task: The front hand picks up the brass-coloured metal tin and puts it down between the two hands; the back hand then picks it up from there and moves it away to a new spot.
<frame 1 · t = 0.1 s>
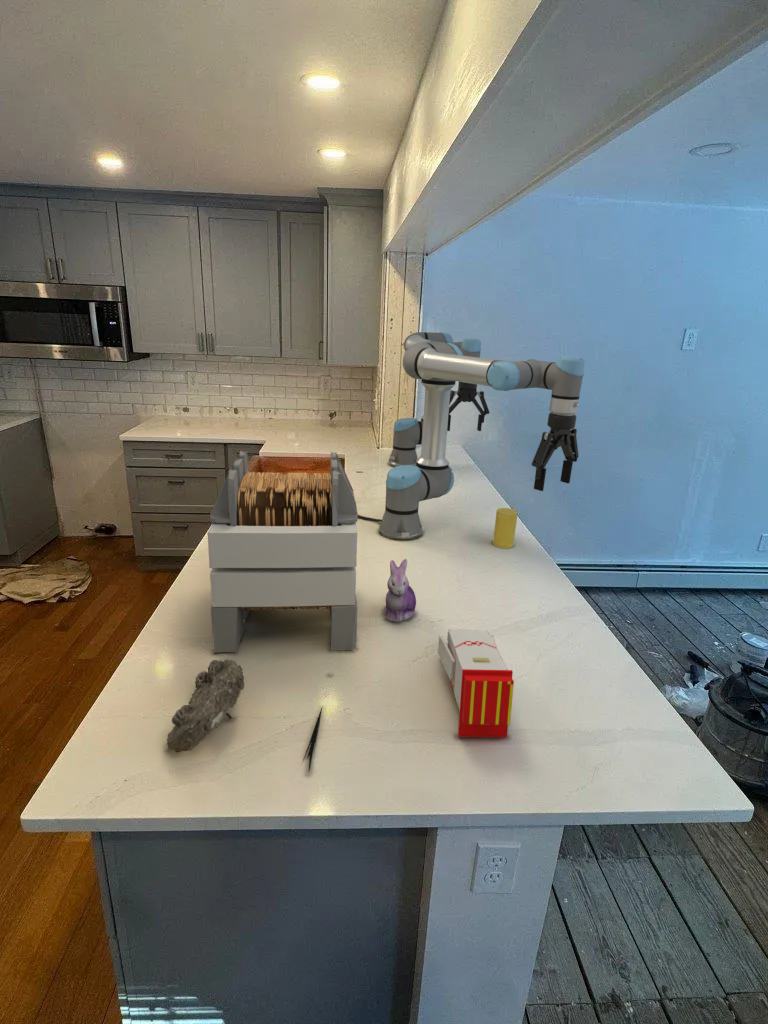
front hand: (551, 486, 166), 28 cm above the counter, tool pointing down, fingers open, 13 cm apart
back hand: (463, 430, 237), 28 cm above the counter, tool pointing down, fingers open, 13 cm apart
figurine: (399, 614, 147), on the counter
grey record crate: (288, 615, 144), on the counter
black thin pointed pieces: (319, 719, 109), on the counter
toy: (469, 691, 119), on the counter
tin: (503, 544, 195), on the counter
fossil: (212, 717, 108), on the counter
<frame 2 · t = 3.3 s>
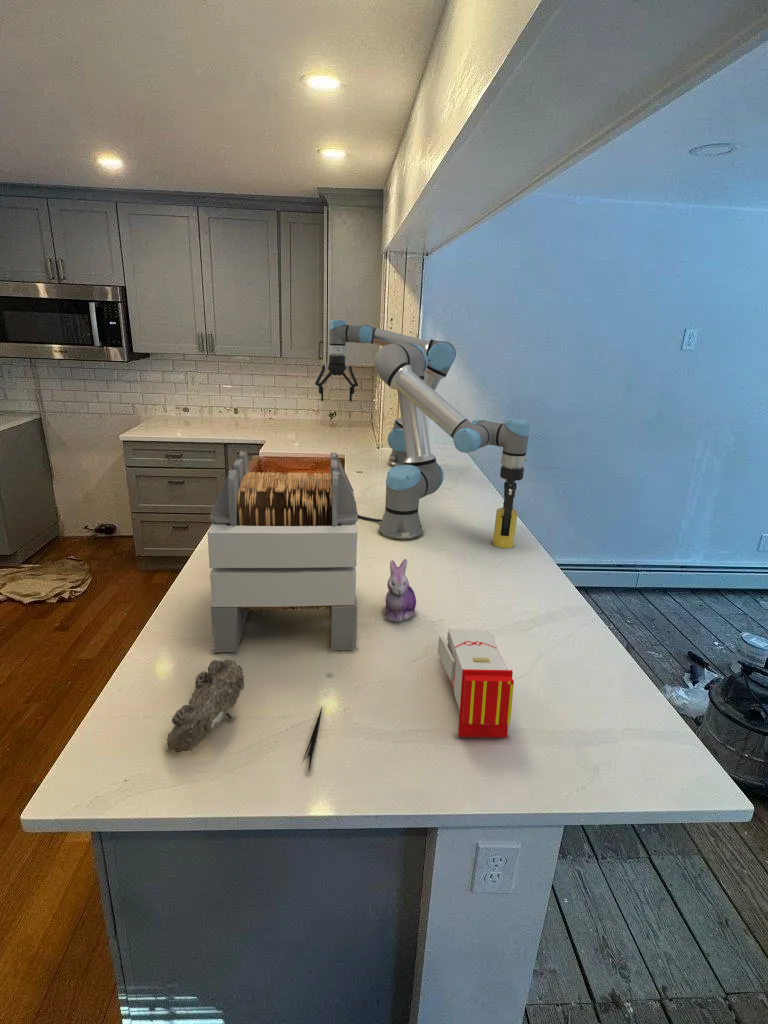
front hand: (504, 531, 194), 5 cm above the counter, tool pointing down, fingers closed on tin, 7 cm apart
back hand: (336, 400, 270), 32 cm above the counter, tool pointing down, fingers open, 13 cm apart
tin: (503, 544, 195), on the counter, touching front hand
everything else where it was.
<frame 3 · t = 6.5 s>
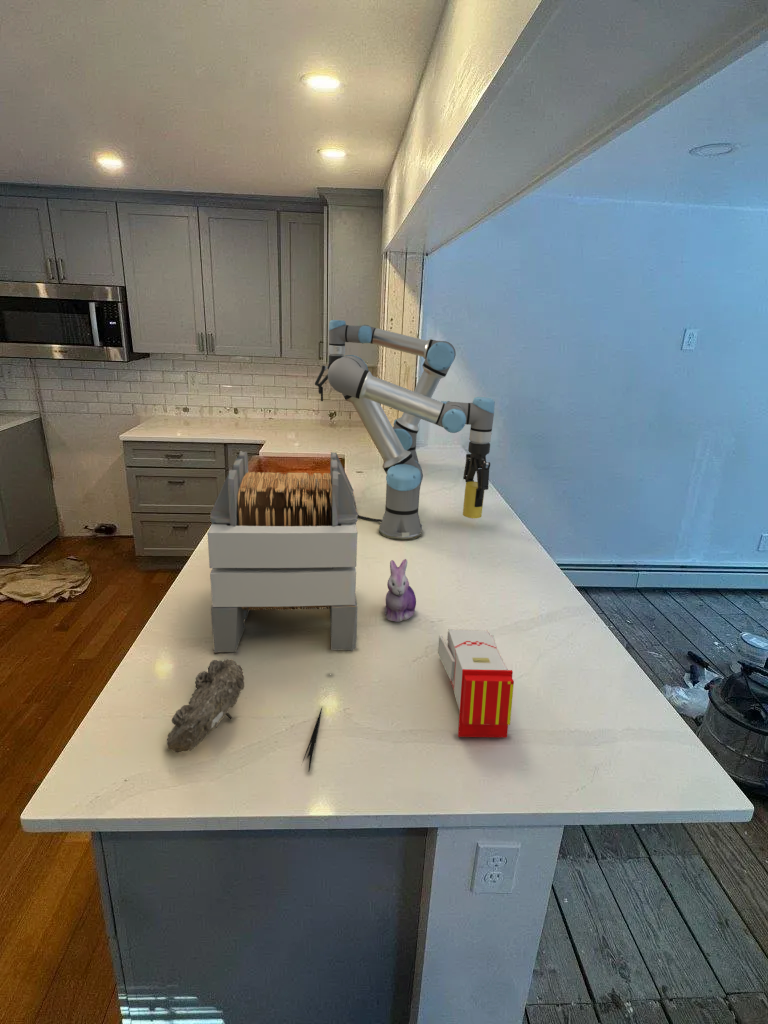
front hand: (473, 503, 209), 9 cm above the counter, tool pointing down, fingers closed on tin, 7 cm apart
back hand: (336, 401, 271), 32 cm above the counter, tool pointing down, fingers open, 13 cm apart
tin: (472, 515, 210), point 4 cm above the counter, touching front hand
everything else where it was.
when the front hand's fingers open (6 cm above the counter, at t = 10.0 s): tin drops 1 cm, on the counter.
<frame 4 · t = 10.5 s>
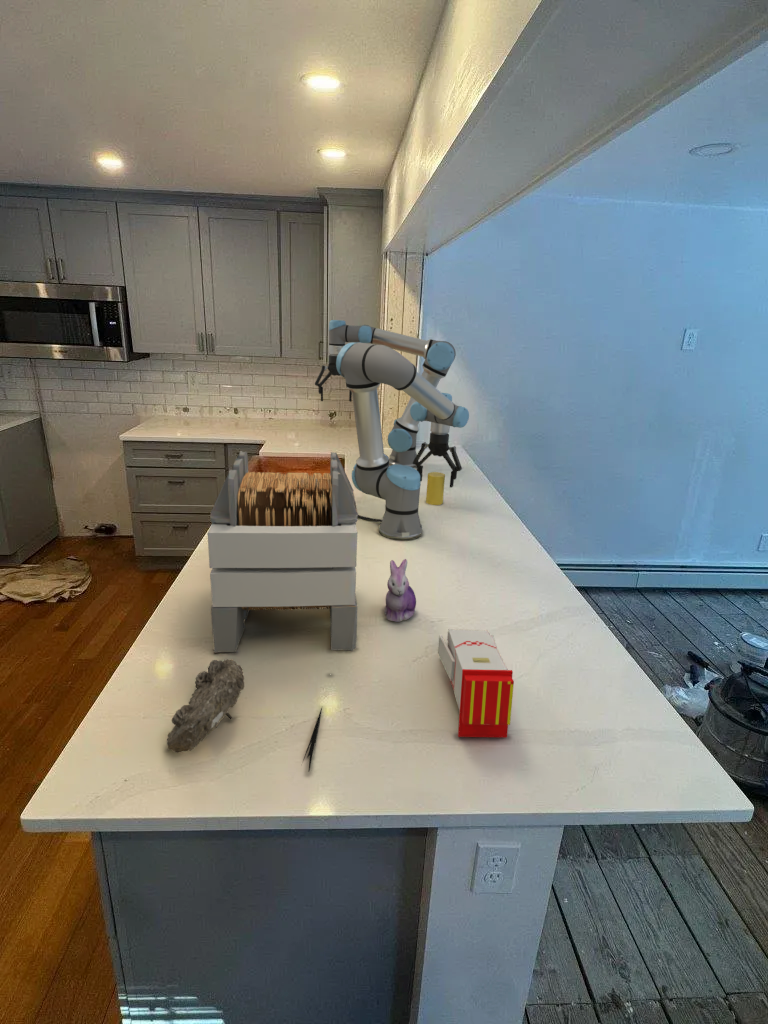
front hand: (435, 484, 232), 8 cm above the counter, tool pointing down, fingers open, 13 cm apart
back hand: (336, 401, 271), 32 cm above the counter, tool pointing down, fingers open, 13 cm apart
tin: (434, 502, 234), on the counter
everything else where it was.
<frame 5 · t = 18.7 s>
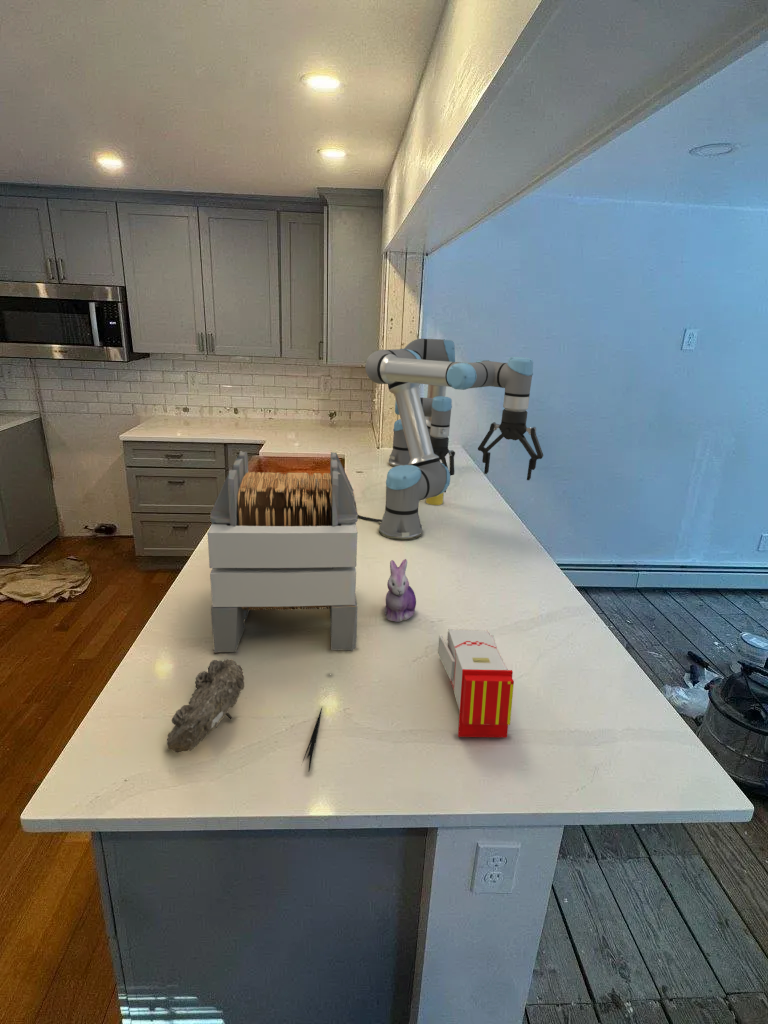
front hand: (507, 476, 181), 26 cm above the counter, tool pointing down, fingers open, 13 cm apart
back hand: (435, 491, 233), 5 cm above the counter, tool pointing down, fingers closed on tin, 7 cm apart
tin: (434, 502, 234), on the counter, touching back hand
everything else where it was.
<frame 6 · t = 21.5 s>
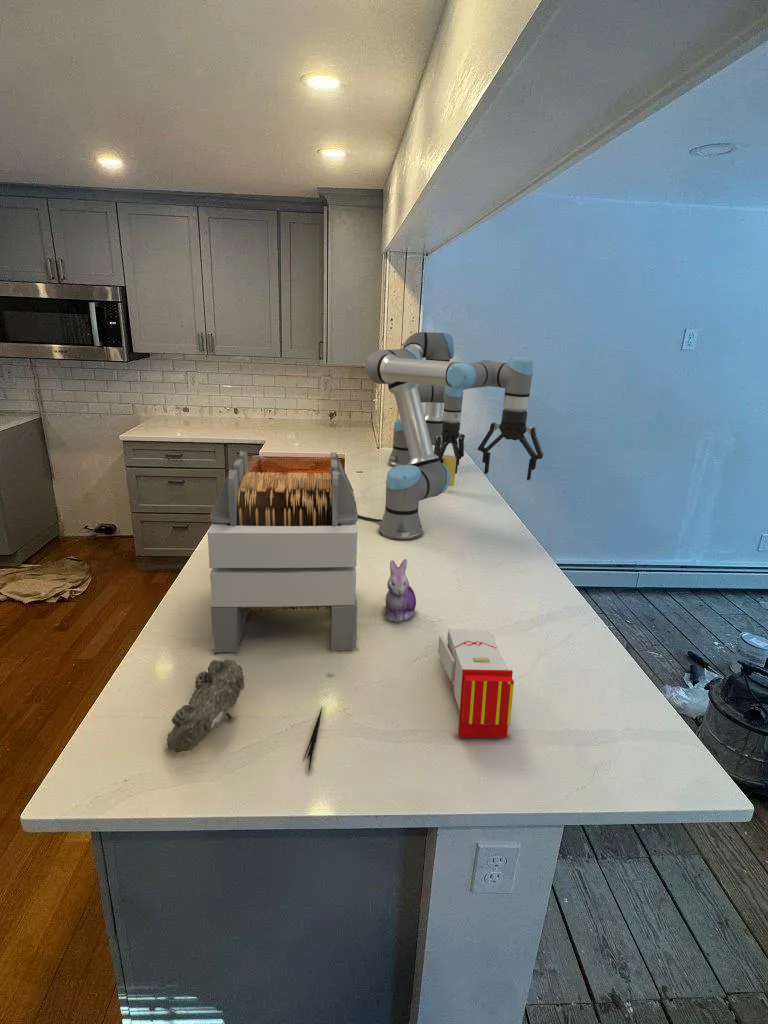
front hand: (507, 476, 181), 26 cm above the counter, tool pointing down, fingers open, 13 cm apart
back hand: (447, 473, 246), 8 cm above the counter, tool pointing down, fingers closed on tin, 7 cm apart
tin: (446, 484, 248), point 3 cm above the counter, touching back hand
everything else where it was.
when the back hand's fingers open (6 cm above the counter, at t = 24.5 s): tin drops 1 cm, on the counter.
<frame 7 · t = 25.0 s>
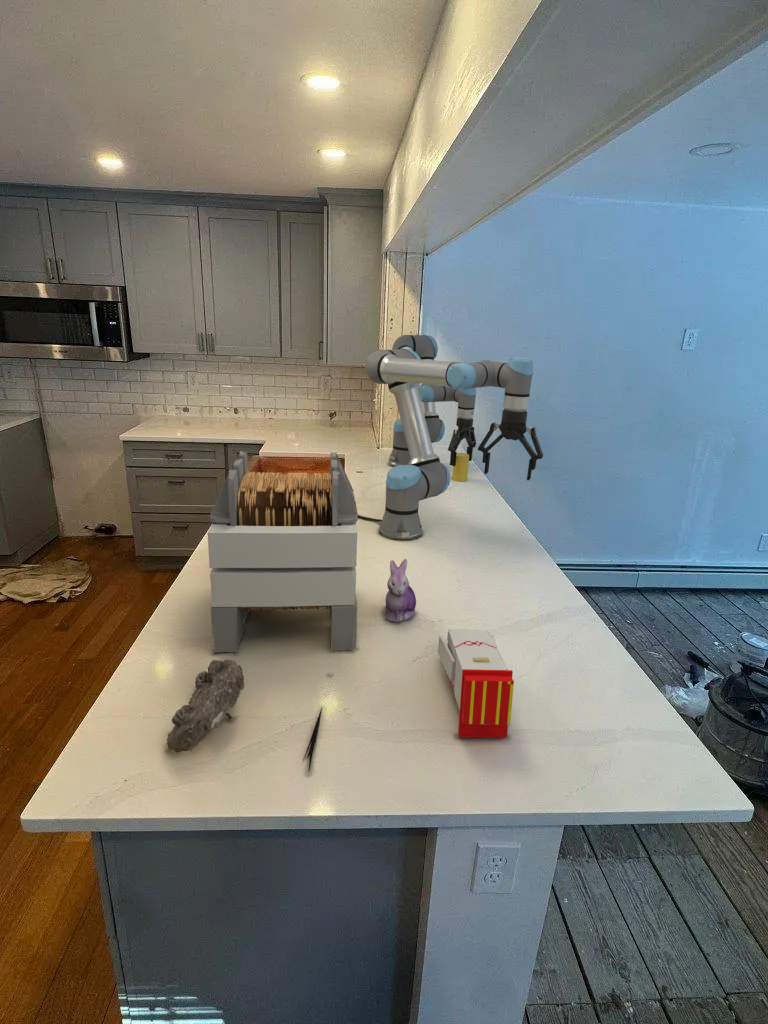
front hand: (507, 476, 181), 26 cm above the counter, tool pointing down, fingers open, 13 cm apart
back hand: (460, 463, 266), 8 cm above the counter, tool pointing down, fingers open, 13 cm apart
tin: (459, 479, 268), on the counter
everything else where it was.
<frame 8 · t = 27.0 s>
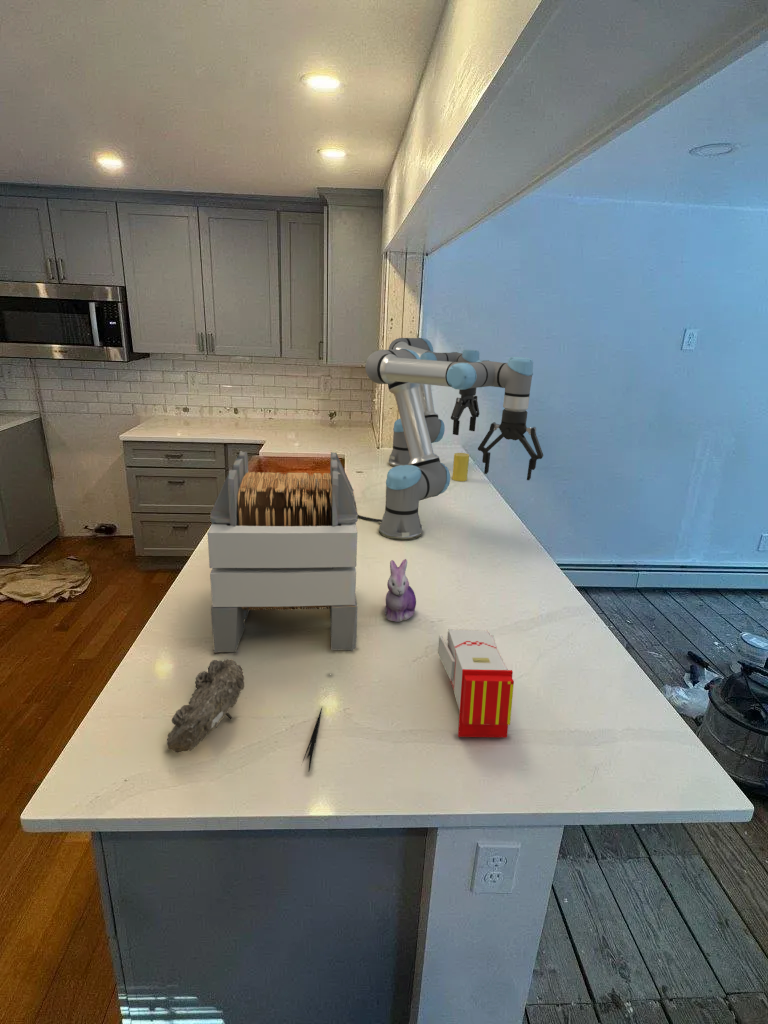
front hand: (507, 476, 181), 26 cm above the counter, tool pointing down, fingers open, 13 cm apart
back hand: (463, 432, 261), 22 cm above the counter, tool pointing down, fingers open, 13 cm apart
nothing on the counter moved.
at the end: tin inside the target area (0.1 cm from its centre), on the counter; tin tilted 0°; the two hands never held the tin at the same time; the front hand is holding nothing; the back hand is holding nothing; tin at rest at the end (0.0 cm/s) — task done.
